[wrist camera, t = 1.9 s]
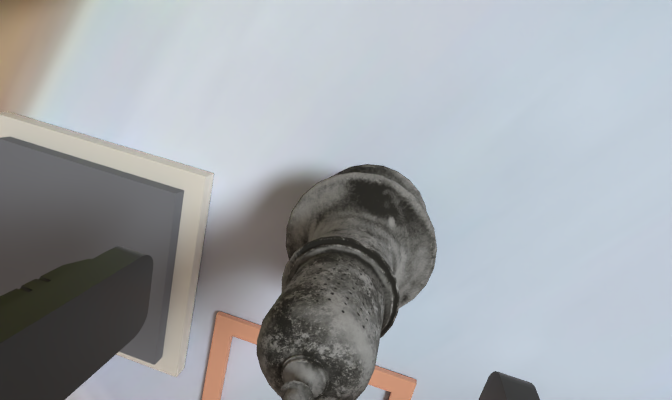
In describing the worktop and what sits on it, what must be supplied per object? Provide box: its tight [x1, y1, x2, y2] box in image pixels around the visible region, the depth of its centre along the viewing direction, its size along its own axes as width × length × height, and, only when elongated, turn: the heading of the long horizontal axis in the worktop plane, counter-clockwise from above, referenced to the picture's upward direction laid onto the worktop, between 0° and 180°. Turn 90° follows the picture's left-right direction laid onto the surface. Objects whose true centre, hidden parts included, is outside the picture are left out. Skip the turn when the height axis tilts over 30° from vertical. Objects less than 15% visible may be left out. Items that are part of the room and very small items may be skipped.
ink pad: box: [0, 112, 214, 377], centre depth 22 cm, size 12×12×2 cm
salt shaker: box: [257, 164, 437, 400], centre depth 13 cm, size 6×6×12 cm
